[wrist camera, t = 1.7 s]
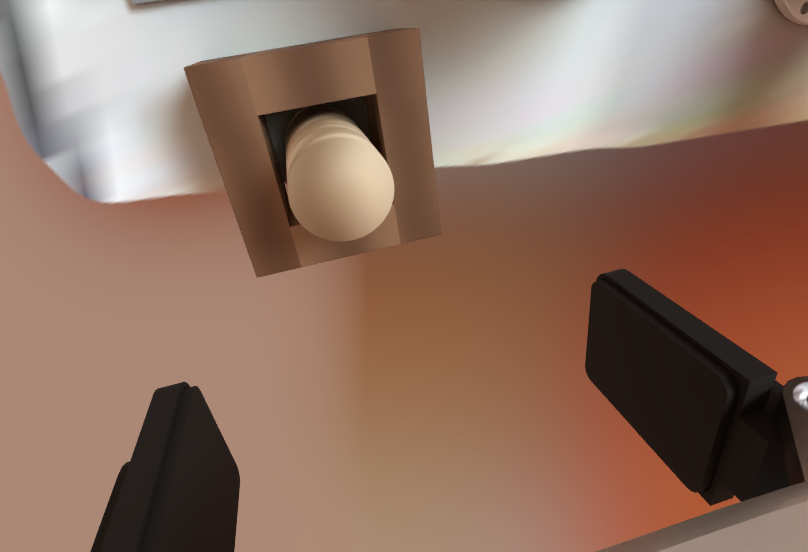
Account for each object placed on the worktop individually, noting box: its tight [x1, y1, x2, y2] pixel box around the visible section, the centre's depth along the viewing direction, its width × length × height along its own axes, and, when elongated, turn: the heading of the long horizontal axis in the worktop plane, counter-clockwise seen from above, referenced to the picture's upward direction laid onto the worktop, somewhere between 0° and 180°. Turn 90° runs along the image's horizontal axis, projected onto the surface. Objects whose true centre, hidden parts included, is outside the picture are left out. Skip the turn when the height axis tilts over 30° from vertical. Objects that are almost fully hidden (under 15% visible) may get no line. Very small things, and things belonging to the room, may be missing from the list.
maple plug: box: [285, 104, 394, 242], centre depth 28 cm, size 5×5×12 cm
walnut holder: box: [184, 28, 441, 277], centre depth 31 cm, size 13×13×6 cm
